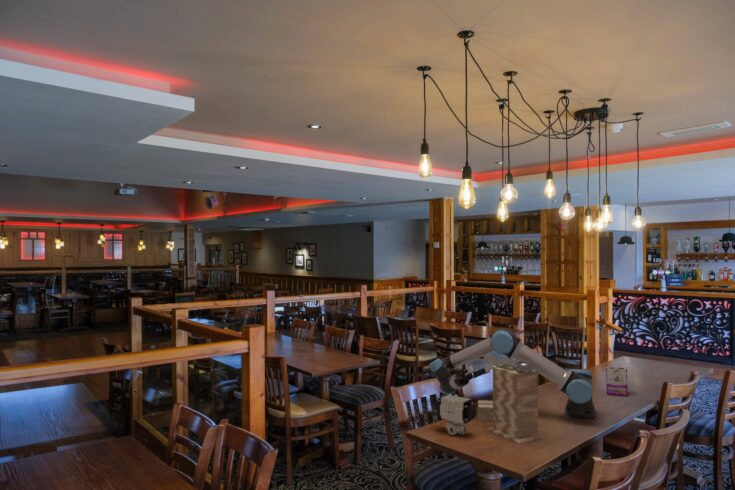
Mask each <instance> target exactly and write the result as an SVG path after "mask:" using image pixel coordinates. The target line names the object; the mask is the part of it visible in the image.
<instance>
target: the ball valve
mask: <svg viewBox="0 0 735 490" xmlns="http://www.w3.org/2000/svg"><path fill="white" fill-rule="evenodd" d="M473 401H474V400H473V399H472V398H468V397H462V396H458V394H455V393H454V395H452V394H447V395H445V394H443V395H442V396H440V397H439V398H437V400H436V402H435V403H436V404H435V410H436V412H437V414H438V416H439V418H440V419H443V420H447V422H446V423H445V429H446V430H445V431H447V433H448V434H449V435H451V436H455V435H457V434H458V435H461V436H462V435H465V434H466V433H467V426H466V425H465V424H468V423H470V422H471V421H473V420H474V421H475V419H476V416H477V414H478V408H477V406H476V405H475V404H474V402H473Z"/></svg>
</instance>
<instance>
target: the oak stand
mask: <svg viewBox="0 0 735 490" xmlns="http://www.w3.org/2000/svg"><path fill="white" fill-rule="evenodd" d="M492 401H493V422H492V424H493V425H492V427H488V431H489V432H491V433H493V434H494V435H497V436H499V437H502V438H504V439H506V440H509V441H511V442H513V443H515V444H518V445H519V444H524V443H527V442H532V441H536V440H540V439H544V438H543V434H541V433H539V430H538V429H539V423H538V422H539V421H538V420H539V417H538V414H539V413H538V411H539V409H538V401H539V400H538V373H537V371H535V370H533V369H532V373H530V374H523V373H518V372H516V371H514V367H510V366H506V365H503V364H499V363H497V364H496V365H495V366H494V367H493V369H492Z"/></svg>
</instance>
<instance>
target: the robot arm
mask: <svg viewBox="0 0 735 490" xmlns="http://www.w3.org/2000/svg"><path fill="white" fill-rule="evenodd" d="M492 352H495V354H496V353H497V355H501V356H504V357H507V358H511V359H515V360H519V361H525V362H531V363H532V370H535V371H537V374H539V375H541V376H543V377H544V378H545V379H547V380H548V381H550V382H552V383H553V384H555V385H556V386H557V387H558V390H559V391H560V392H561V393H563V394H565V395H567V401H566V404H565V407H564V414H565V415H567V416H568V417H572V418H574V419H582V420H583V419H585V420H589V419H590V420H591V419H595V418H597V410H596V407H595V404H594V401H593V394H594V389H593V372H592V371H591V370H589V369H588V370H587V369H581V368H580V369H577V368H570V369H568V370H565V368H562V367H561V366H559V365H558V364H556V363H554V362H553V361H552V360H550V359H548V358H547V357H545V356H544V355H542V354H540V353H538V352H537V351H535V350H534V349H532V348H530V347H529V346H527V345H525V344H524V343H523V340H522V339H521V338H519V337H518V336H517V334H516V332H515V331H514V330H513V329H511V328H508V327H502V328H499V329H498V330H496V331H495V332H494V333H492V334H490V335H489V336H488V338H486V339H484V340H482V341H480V342H479V341H478V342H477V343H475V344H473V345H471V346H469V347H466V348H464V349H462V350H460V351H458V352H455V353H453V354H451V355H449V356H447V357H443V358H442V359H441V358H437V359H435V360H433V361H432V362H430V363H429V364H428V367H429V369H430V370H431V372H432V374H433V375H434V376H435V378H436V379H437V381H438V383H439V386H438V387H439V391H440V392H441V394H443V395H447V394H448V395H452V394H453V393H455V392H456V391H460V390H461V388H463V387H465V386H467V385H468V384H469V383H470V380H472V379H477V378H478V377H481V376H483V375H486V374H489V373H490V372H491V371H493V367H495V365H492V364H489V363H488V364H487V365H484V367H481V368H480V369H477V370H474V369H473V368H474V367H473V366H472V365H469V366H467V367H466V368H465V369H463V370H460V371H456V373H454V374H453V375H452V374H451V373H450V372H451V371H453V370H455V369H457V368H459V367H461V366H463V365H466V364H468V363H470V362H472V361H475V360H477V359H479V358H481V357H483V356H484V357H485V354H492Z"/></svg>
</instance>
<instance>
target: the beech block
mask: <svg viewBox="0 0 735 490" xmlns="http://www.w3.org/2000/svg"><path fill="white" fill-rule="evenodd" d="M477 414H478V415H477V416H478V421H480V422H492V423H493V399H491V400H489V399H478V400H477Z"/></svg>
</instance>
